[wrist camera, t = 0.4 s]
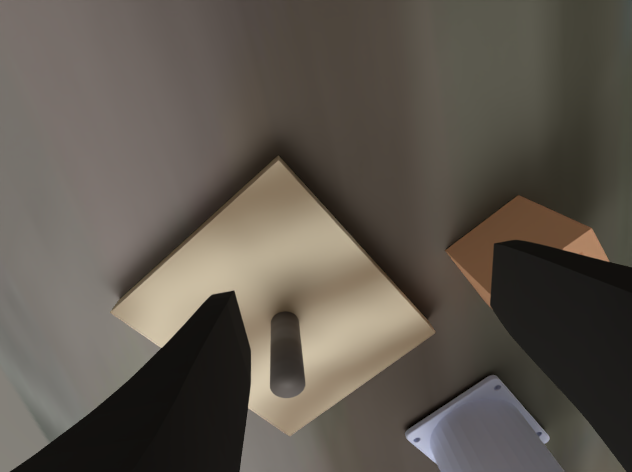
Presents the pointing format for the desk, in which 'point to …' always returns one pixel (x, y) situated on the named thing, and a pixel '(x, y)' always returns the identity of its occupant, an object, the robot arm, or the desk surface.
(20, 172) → the desk surface
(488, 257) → the square collar
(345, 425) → the desk surface
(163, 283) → the post board
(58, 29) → the desk surface
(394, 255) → the desk surface
